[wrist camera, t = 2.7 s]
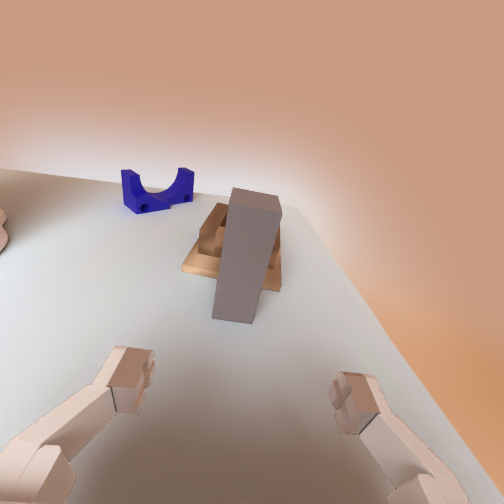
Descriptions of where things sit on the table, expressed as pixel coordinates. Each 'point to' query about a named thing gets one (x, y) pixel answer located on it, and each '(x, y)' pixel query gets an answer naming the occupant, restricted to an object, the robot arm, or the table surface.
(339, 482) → the table surface
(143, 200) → the blue cradle bracket
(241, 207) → the peg
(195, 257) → the socket board
